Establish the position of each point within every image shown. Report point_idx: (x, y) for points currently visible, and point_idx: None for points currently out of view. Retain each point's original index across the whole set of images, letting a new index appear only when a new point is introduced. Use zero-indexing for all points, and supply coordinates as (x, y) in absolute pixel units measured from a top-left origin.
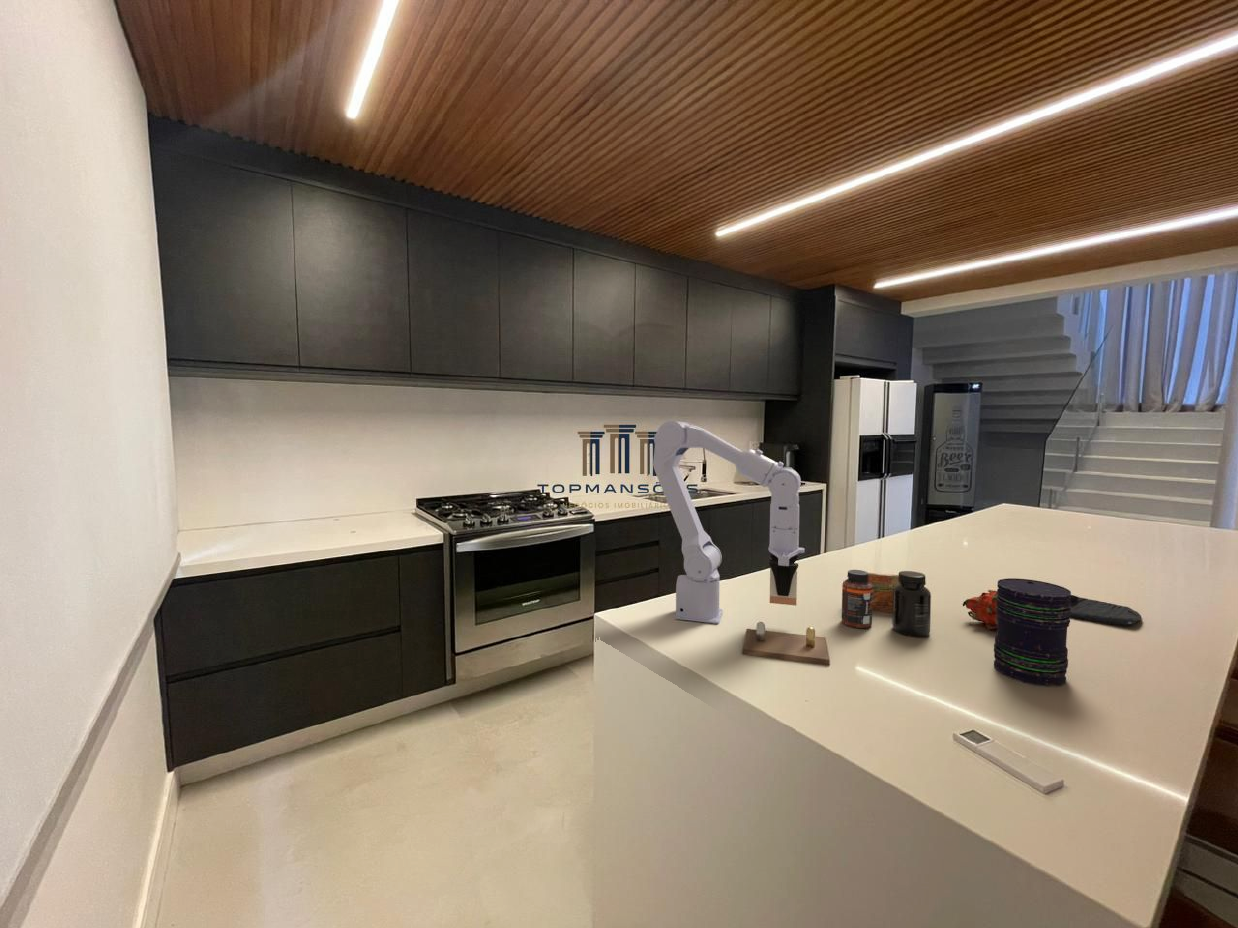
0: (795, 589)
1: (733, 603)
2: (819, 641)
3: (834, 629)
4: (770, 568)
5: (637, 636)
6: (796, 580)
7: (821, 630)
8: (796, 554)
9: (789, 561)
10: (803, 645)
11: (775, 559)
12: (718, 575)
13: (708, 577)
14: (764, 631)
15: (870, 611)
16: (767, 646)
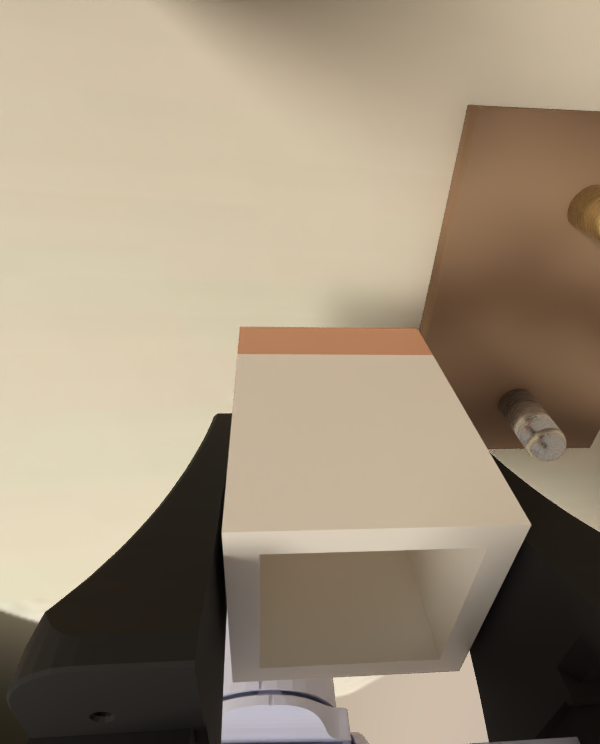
0: (453, 402)
1: (70, 498)
2: (536, 152)
3: (247, 7)
4: (425, 671)
5: None
6: (486, 452)
7: (289, 108)
8: (143, 675)
9: (214, 617)
10: (579, 240)
11: (219, 705)
12: (252, 708)
13: (349, 735)
14: (548, 416)
15: None
16: (575, 378)
